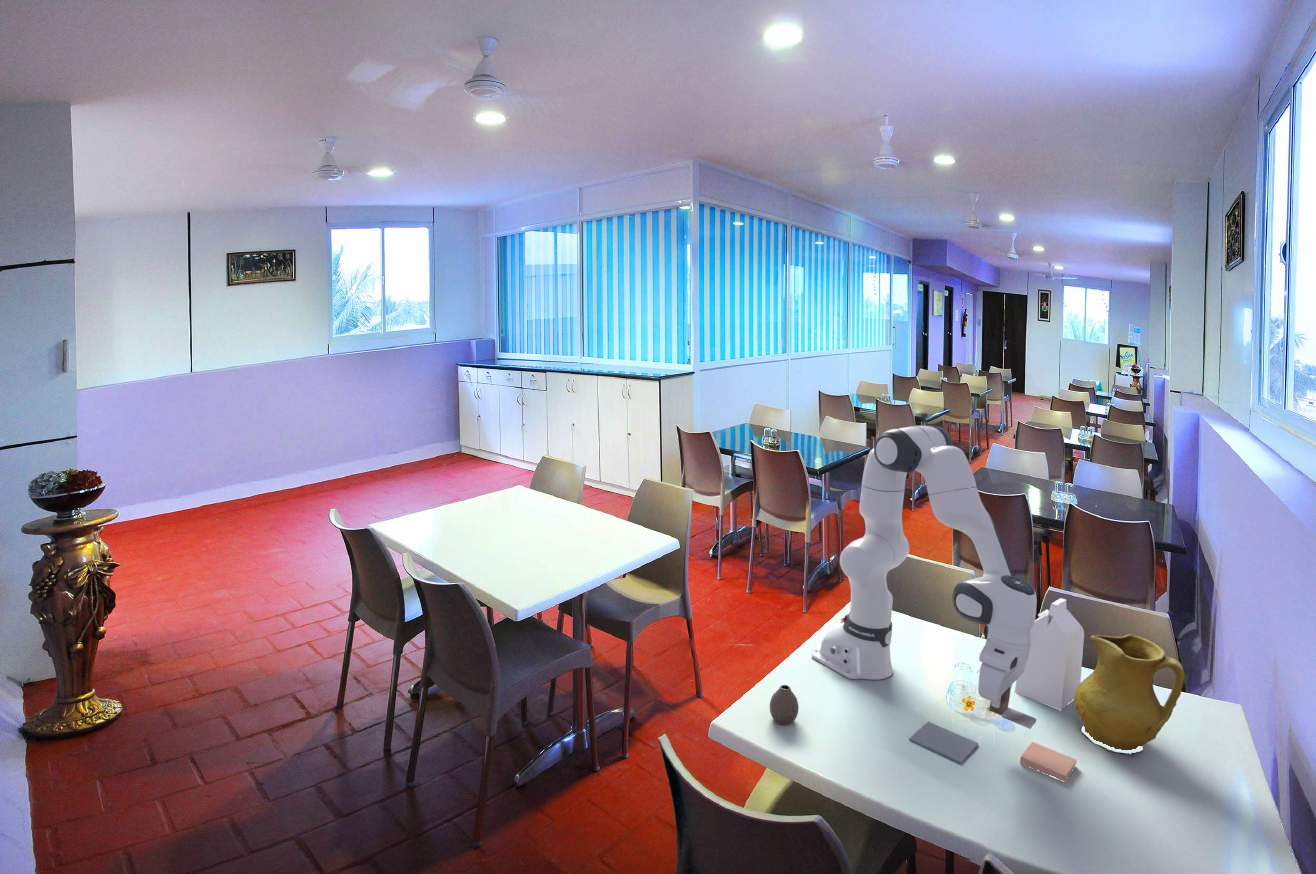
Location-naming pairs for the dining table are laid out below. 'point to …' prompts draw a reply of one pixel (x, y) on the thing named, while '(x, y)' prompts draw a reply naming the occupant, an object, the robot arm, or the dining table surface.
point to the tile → (1048, 761)
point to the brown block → (1012, 712)
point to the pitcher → (1126, 692)
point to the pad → (944, 742)
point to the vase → (784, 705)
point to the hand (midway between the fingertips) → (999, 702)
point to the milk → (1053, 658)
